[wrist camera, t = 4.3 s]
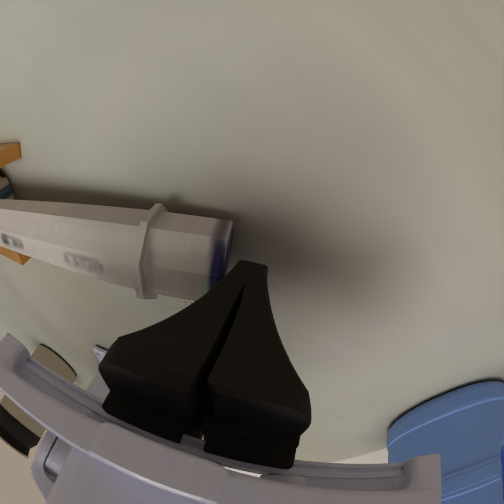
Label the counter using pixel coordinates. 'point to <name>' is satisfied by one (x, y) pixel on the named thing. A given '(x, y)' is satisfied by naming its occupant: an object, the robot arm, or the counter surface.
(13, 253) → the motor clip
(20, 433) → the travel mug
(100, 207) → the electric toothbrush
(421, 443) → the water jug
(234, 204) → the counter surface
